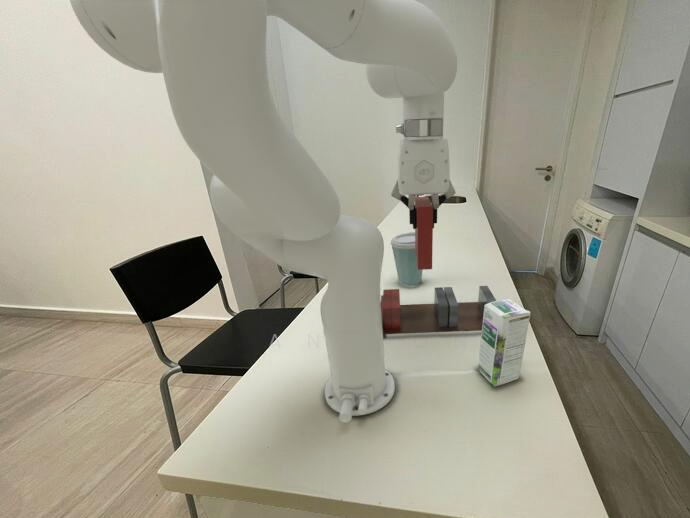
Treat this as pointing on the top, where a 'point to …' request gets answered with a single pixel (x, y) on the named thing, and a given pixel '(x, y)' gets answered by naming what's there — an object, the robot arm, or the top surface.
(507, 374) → the syrup box
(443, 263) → the top surface
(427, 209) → the red book
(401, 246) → the disposable coffee cup
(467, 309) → the book rack
